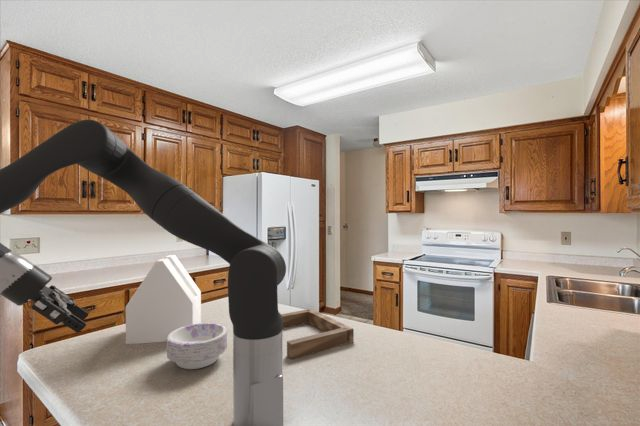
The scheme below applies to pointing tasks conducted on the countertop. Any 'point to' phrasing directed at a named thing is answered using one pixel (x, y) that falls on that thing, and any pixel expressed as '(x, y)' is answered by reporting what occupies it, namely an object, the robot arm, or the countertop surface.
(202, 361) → the paper bowls
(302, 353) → the walnut bay
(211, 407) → the countertop surface
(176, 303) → the white house shaped block
